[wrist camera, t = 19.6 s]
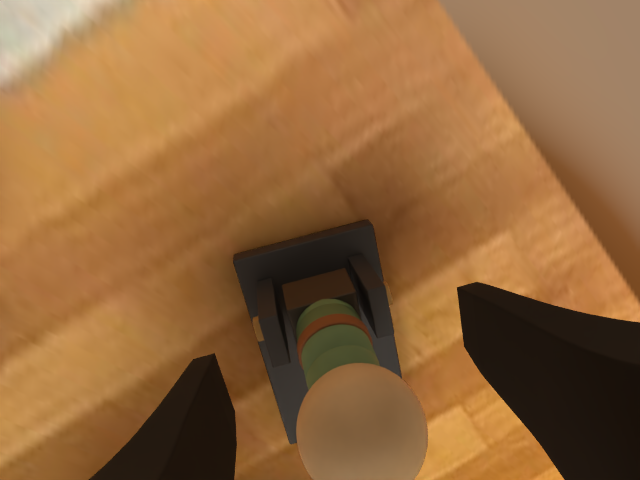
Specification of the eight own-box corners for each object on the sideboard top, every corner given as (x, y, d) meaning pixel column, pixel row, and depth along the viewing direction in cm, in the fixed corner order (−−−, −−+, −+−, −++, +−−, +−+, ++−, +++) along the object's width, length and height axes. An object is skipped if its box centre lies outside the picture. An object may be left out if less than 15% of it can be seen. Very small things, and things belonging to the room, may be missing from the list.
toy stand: (402, 399, 27) (435, 464, 22) (288, 432, 26) (297, 506, 22) (368, 218, 23) (398, 251, 18) (233, 254, 22) (229, 297, 18)
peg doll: (368, 320, 22) (454, 510, 14) (285, 343, 22) (322, 551, 14) (355, 249, 20) (447, 421, 12) (264, 273, 20) (292, 467, 12)
